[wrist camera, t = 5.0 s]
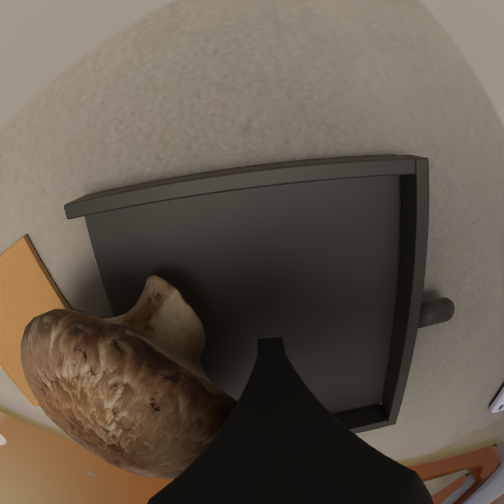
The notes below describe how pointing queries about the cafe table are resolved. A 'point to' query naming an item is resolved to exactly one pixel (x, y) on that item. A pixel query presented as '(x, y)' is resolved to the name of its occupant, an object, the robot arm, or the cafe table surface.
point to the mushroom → (128, 381)
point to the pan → (285, 269)
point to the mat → (22, 305)
